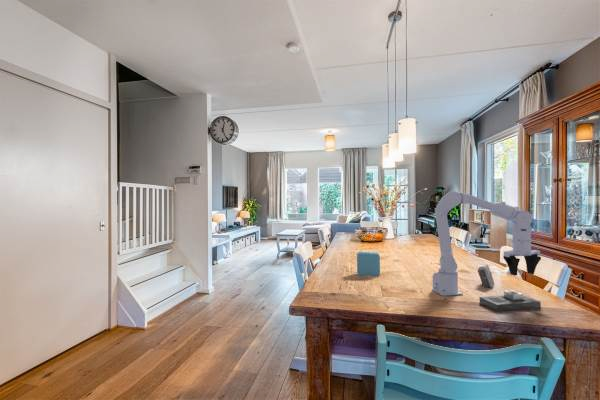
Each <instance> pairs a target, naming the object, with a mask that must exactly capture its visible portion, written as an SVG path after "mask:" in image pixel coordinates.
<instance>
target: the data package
mask: <svg viewBox="0 0 600 400" xmlns="http://www.w3.org/2000/svg"><path fill="white" fill-rule="evenodd" d="M356 273H357V275H358V276H362V275H363V276H366V277H368V276H370V277H379V276H380V274H381V256H380V253H379V252H377V251H376V252H375V251H374V252H370V251H359V252H357V253H356Z"/></svg>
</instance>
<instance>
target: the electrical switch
mask: <svg viewBox="0 0 600 400" xmlns="http://www.w3.org/2000/svg"><path fill="white" fill-rule="evenodd" d="M477 273H478V276H479V279H480V282H481V284H482V287H488V288H489V287H490V289H493V288H494V285H495V281H494V277H493V274H492V271H491V269H490V266H489V265H488V263H487V264H484V266H479V267H478V269H477Z"/></svg>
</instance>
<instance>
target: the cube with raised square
mask: <svg viewBox="0 0 600 400" xmlns="http://www.w3.org/2000/svg"><path fill="white" fill-rule="evenodd" d="M503 295H504V298H505V299H508V300H510V301H513V302H521V301H523V292H519V291H516V290H504V291H503Z"/></svg>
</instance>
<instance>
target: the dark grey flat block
mask: <svg viewBox="0 0 600 400" xmlns="http://www.w3.org/2000/svg"><path fill="white" fill-rule="evenodd" d="M479 304H480V305H481V306H484V307H486V308H488V309H490V310H493V311H495V312H509V311H522V310H537V309H541V308H542V306H541V300H537V299H535V298H532V297H529V296H527V295H523V301H521V302H513V301H510V300H508V299H505V298H504V294H503V295H492V296H491V295H490V296H480V297H479Z"/></svg>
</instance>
